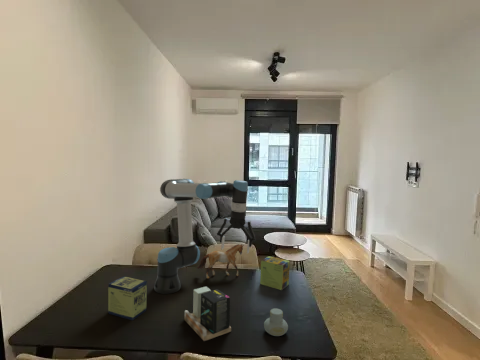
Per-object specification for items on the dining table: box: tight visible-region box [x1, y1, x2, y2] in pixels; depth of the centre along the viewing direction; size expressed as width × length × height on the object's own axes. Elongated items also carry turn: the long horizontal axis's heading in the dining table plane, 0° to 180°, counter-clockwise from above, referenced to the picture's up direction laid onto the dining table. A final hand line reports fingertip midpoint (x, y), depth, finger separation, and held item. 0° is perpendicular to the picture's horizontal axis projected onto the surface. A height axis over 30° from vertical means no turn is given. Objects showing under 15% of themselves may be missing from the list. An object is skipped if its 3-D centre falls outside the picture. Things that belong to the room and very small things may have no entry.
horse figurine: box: [196, 244, 245, 279], centre depth 199 cm, size 31×8×21 cm, turn 102°
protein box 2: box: [259, 256, 291, 291], centre depth 189 cm, size 10×15×16 cm
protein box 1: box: [107, 276, 148, 321], centre depth 151 cm, size 10×16×16 cm
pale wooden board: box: [184, 309, 232, 342], centre depth 142 cm, size 20×14×4 cm
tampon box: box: [200, 288, 231, 334], centre depth 137 cm, size 11×9×15 cm
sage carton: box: [192, 286, 212, 318], centre depth 148 cm, size 5×7×12 cm
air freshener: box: [263, 307, 289, 337], centre depth 138 cm, size 11×8×10 cm
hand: (235, 250), depth 157 cm, fingers open, 13 cm apart
